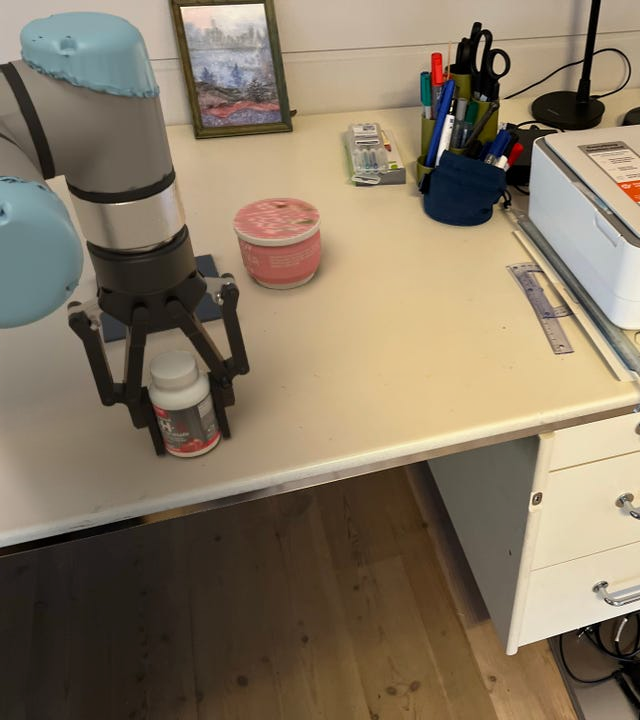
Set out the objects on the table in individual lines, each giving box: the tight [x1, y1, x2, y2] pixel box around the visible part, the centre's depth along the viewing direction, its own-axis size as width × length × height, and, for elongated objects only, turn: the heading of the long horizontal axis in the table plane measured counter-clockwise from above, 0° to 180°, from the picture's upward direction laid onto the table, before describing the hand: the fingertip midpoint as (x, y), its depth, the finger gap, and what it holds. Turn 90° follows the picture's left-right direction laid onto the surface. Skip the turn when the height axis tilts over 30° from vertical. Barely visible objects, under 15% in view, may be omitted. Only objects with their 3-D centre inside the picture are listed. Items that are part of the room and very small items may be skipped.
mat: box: [95, 253, 222, 344], centre depth 92 cm, size 14×14×1 cm
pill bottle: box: [148, 350, 222, 458], centre depth 71 cm, size 5×5×10 cm
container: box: [232, 197, 322, 290], centre depth 94 cm, size 10×10×8 cm
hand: (192, 436), depth 74 cm, fingers closed on pill bottle, 5 cm apart
